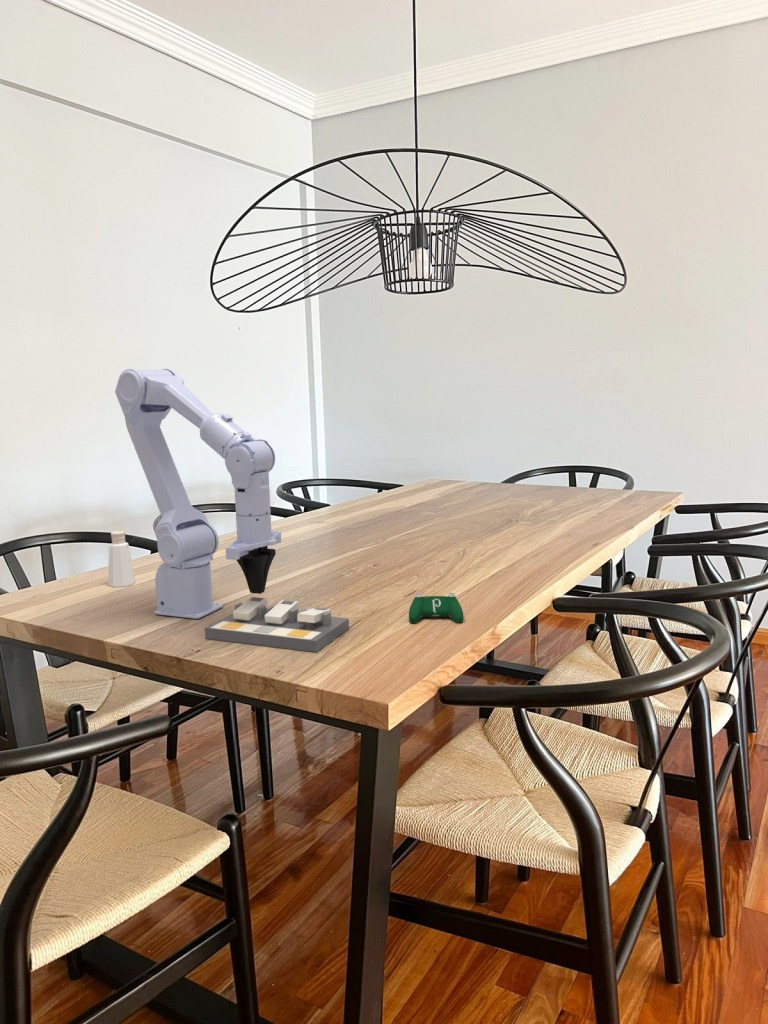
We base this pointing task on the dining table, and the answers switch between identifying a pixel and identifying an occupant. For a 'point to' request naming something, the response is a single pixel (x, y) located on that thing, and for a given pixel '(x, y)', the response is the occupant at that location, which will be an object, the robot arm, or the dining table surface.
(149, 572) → the dining table surface
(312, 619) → the block
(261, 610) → the switch unit
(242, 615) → the rocker
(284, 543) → the dining table surface
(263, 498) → the robot arm
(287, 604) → the block
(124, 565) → the salt shaker
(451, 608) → the gaming controller
